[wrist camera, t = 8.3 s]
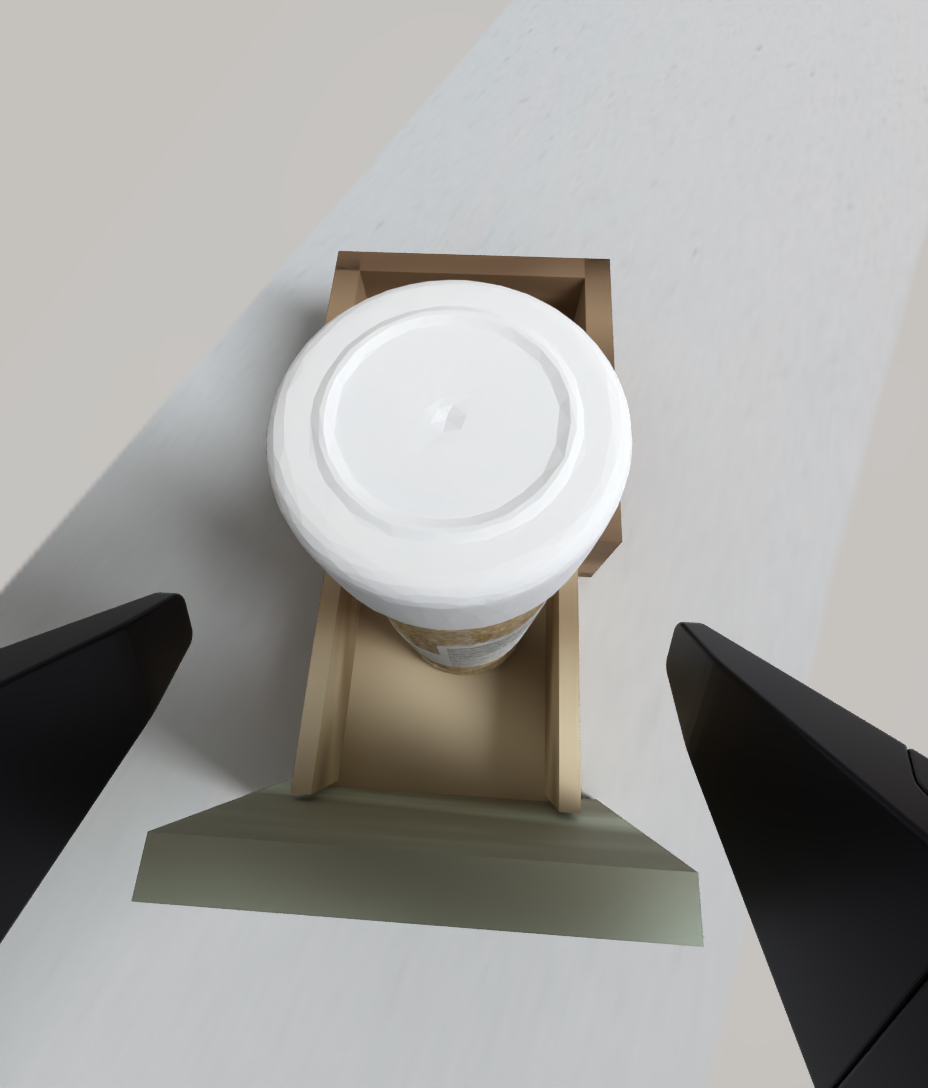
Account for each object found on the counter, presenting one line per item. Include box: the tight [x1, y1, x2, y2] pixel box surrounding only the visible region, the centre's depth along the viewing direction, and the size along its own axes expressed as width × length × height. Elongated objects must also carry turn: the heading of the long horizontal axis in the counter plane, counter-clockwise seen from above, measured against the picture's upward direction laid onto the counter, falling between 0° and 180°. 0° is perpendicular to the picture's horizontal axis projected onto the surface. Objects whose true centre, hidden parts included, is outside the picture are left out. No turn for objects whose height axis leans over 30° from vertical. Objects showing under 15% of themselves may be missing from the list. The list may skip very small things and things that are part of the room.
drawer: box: [132, 569, 704, 947], centre depth 15 cm, size 12×11×8 cm
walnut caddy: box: [325, 251, 622, 577], centre depth 20 cm, size 12×11×4 cm
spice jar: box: [266, 280, 632, 675], centre depth 12 cm, size 5×5×13 cm
